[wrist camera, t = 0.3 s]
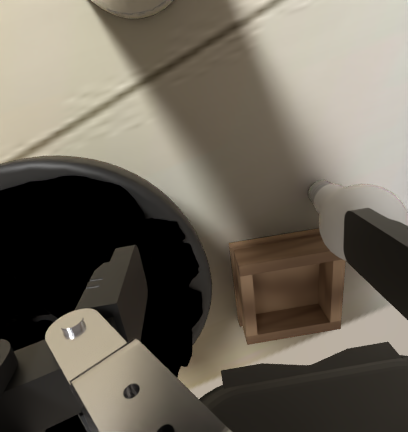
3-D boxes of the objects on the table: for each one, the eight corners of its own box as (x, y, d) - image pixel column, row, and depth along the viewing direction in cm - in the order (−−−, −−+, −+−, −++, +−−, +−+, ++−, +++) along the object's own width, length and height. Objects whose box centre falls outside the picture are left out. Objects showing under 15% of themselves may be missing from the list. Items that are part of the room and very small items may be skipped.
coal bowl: (31, 319, 34) (-117, 564, 17) (-40, 140, 25) (-483, 266, 8) (206, 301, 35) (236, 514, 18) (194, 123, 26) (227, 205, 9)
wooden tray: (228, 243, 32) (235, 264, 28) (330, 226, 32) (349, 245, 28) (238, 320, 36) (245, 347, 33) (326, 305, 37) (343, 330, 33)
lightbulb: (315, 147, 28) (391, 184, 18) (359, 180, 30) (450, 230, 20) (275, 198, 30) (324, 257, 20) (318, 226, 32) (383, 294, 22)
